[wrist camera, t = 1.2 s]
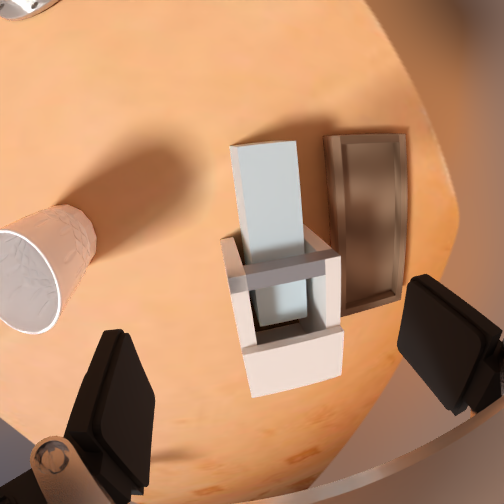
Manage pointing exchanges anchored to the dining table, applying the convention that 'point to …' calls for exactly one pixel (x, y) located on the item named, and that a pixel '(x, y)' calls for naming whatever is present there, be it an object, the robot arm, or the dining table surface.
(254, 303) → the white rectangular block
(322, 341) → the dispenser
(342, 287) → the tray
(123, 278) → the dining table surface
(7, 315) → the white cup
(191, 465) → the dining table surface
